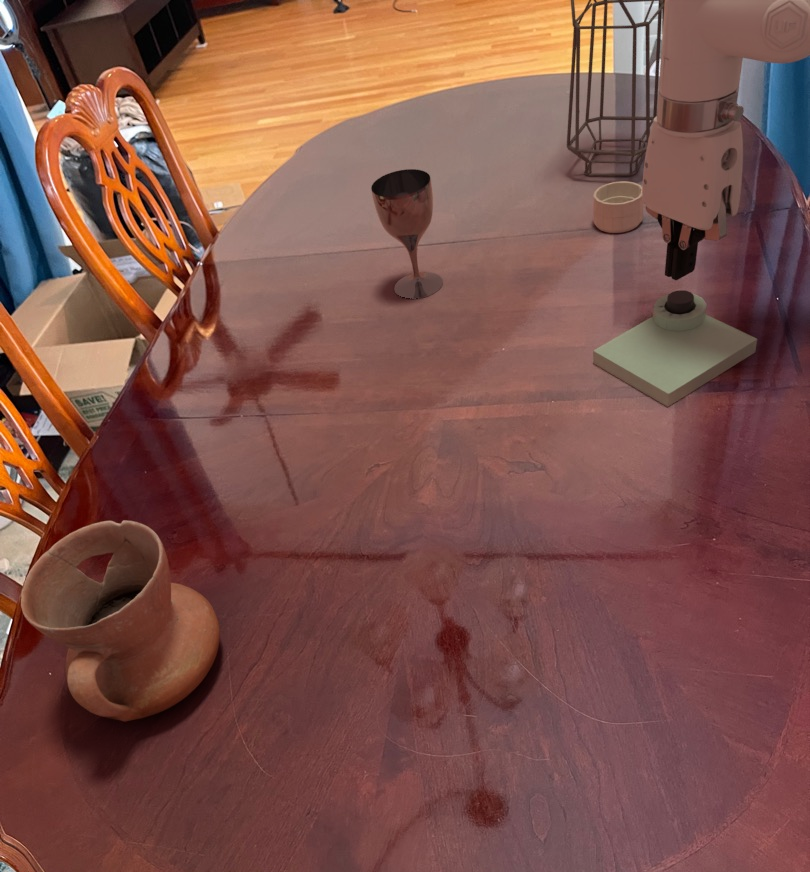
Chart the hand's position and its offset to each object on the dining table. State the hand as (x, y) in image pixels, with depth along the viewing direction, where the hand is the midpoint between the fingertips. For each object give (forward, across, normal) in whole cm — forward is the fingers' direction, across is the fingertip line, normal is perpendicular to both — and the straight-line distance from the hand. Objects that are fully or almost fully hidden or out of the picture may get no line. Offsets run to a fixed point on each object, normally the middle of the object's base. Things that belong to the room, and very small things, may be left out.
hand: (679, 273), depth 95 cm
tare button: (+5, 0, 0) cm, 5 cm away
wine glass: (+8, +34, +15) cm, 38 cm away
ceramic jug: (+8, -4, +72) cm, 73 cm away
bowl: (+8, +25, -15) cm, 30 cm away
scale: (+8, -4, +4) cm, 10 cm away
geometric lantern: (+8, +39, -28) cm, 49 cm away
